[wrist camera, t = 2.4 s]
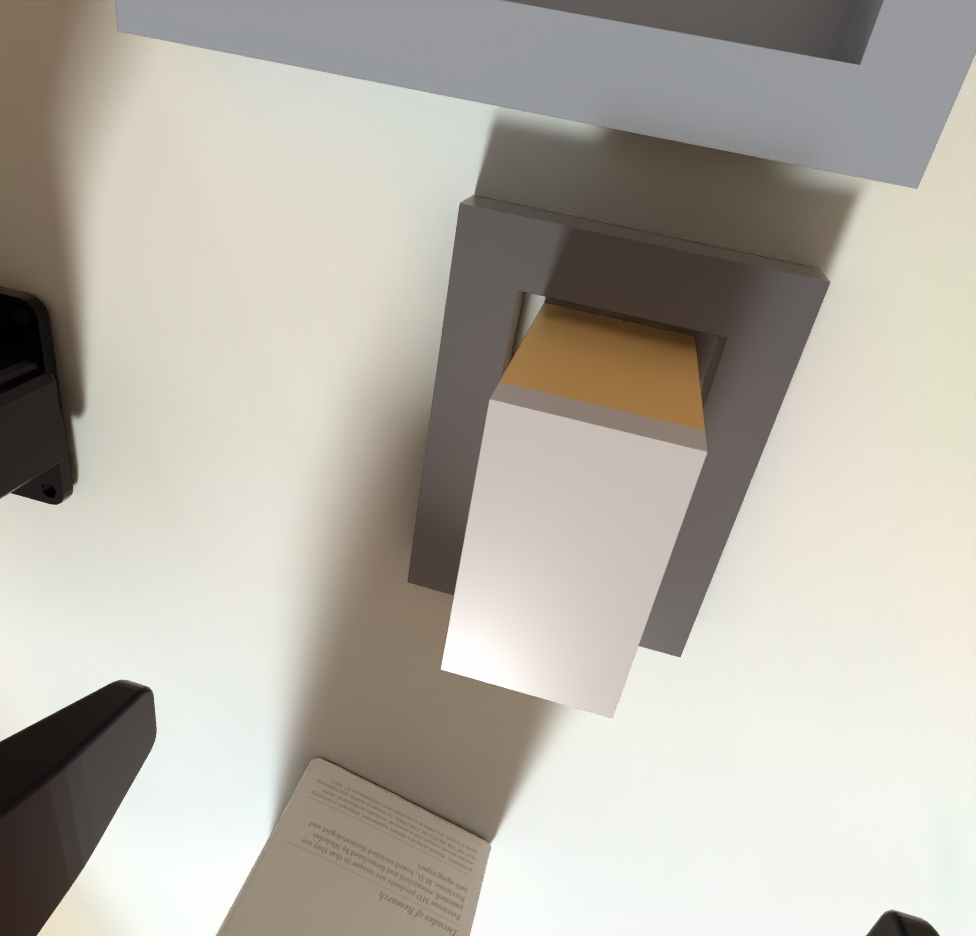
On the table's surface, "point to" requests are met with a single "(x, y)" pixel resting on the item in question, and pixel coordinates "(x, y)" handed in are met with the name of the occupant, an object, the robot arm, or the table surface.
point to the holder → (631, 291)
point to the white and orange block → (576, 507)
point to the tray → (637, 64)
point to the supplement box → (359, 866)
